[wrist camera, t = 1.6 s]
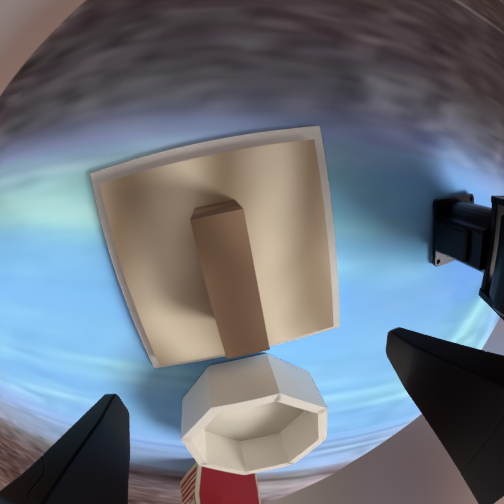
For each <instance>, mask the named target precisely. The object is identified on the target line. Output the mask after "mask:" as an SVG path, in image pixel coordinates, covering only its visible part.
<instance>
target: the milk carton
mask: <svg viewBox="0 0 504 504" xmlns="http://www.w3.org/2000/svg"><path fill="white" fill-rule="evenodd" d="M179 484H180V495H181V504H261V502H260V494H259V488H258V483H257V477H256V473H253V474H247V475H241V474H235V473H230V472H225V471H220V470H216V469H211V468H207V467H203V466H199V464H198V463H197V462H195V463H194V464H193V466H192V467H191V468H190V469H189V471H188V472H187V473H186V475H185V476H184V477H183V479H182V480H181V482H180V483H179Z"/></svg>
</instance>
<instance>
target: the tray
mask: <svg viewBox="0 0 504 504" xmlns="http://www.w3.org/2000/svg"><path fill="white" fill-rule="evenodd" d="M313 139H314V141H315V147H316V153H317V159H318V166H319V172H320V179H321V186H322V193H323V201H324V209H325V218H326V227H327V236H328V247H329V258H330V270H331V284H332V301H333V323H334V326H333V327H330V328H326V329H323V330H320V331H316V332H313V333H309V334H306V335H302V336H299V337H295V338H291V339H287V340H284V341H280V342H276V343H272V344H269V347H270V346H274V345H278V344H281V343H285V342H289V341H293V340H297V339H300V338H304V337H307V336H311V335H314V334H318V333H321V332H324V331H328V330H331V329H334V328H337V327H340V308H339V286H338V269H337V255H336V243H335V232H334V222H333V213H332V204H331V196H330V188H329V181H328V173H327V167H326V160H325V154H324V148H323V142H322V136H321V130H320V126H311V127H300V128H290V129H281V130H273V131H265V132H258V133H251V134H245V135H239V136H233V137H227V138H222V139H216V140H211V141H206V142H201V143H197V144H192V145H188V146H183V147H179V148H175V149H171V150H167V151H163V152H159V153H155V154H151V155H147V156H144V157H140V158H137V159H133V160H130V161H127V162H123V163H120V164H117V165H114V166H110V167H107V168H104V169H101V170H98V171H95V172H93V173H90V176H91V181H92V186H93V190H94V195H95V200H96V204H97V208H98V212H99V216H100V220H101V224H102V228H103V232H104V235H105V239H106V243H107V246H108V249H109V253H110V256H111V259H112V262H113V266H114V269H115V272H116V275H117V278H118V281H119V284H120V287H121V289H122V292H123V295H124V298H125V300H126V303H127V306H128V308H129V311H130V314H131V316H132V319H133V321H134V324H135V326H136V328H137V331H138V333H139V336H140V338H141V340H142V343H143V345H144V347H145V349H146V352H147V354H148V356H149V358H150V360H151V362H152V365H153V367H154V368H161V367H168V366H175V365H181V364H187V363H193V362H199V361H204V360H210V359H215V358H220V357H225V356H226V355H225V354H223V355H218V356H213V357H208V358H202V359H197V360H191V361H185V362H179V363H172V364H166V365H159V363H158V360H157V358H156V356H155V354H154V351H153V349H152V347H151V345H150V342H149V340H148V337H147V335H146V333H145V330H144V328H143V325H142V323H141V320H140V318H139V315H138V312H137V310H136V307H135V304H134V302H133V299H132V296H131V293H130V291H129V288H128V285H127V282H126V279H125V276H124V273H123V270H122V267H121V263H120V260H119V257H118V254H117V250H116V247H115V243H114V240H113V236H112V233H111V229H110V225H109V221H108V217H107V213H106V209H105V205H104V200H103V196H102V191H101V187H100V184H102V183H105V182H108V181H111V180H114V179H118V178H121V177H124V176H128V175H131V174H135V173H138V172H142V171H145V170H149V169H153V168H157V167H160V166H164V165H168V164H172V163H177V162H181V161H185V160H190V159H194V158H199V157H203V156H208V155H213V154H218V153H223V152H229V151H234V150H240V149H246V148H252V147H258V146H265V145H272V144H279V143H287V142H295V141H304V140H313Z"/></svg>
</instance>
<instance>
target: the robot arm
mask: <svg viewBox="0 0 504 504" xmlns="http://www.w3.org/2000/svg"><path fill="white" fill-rule="evenodd" d="M491 202H492V208H489V207H485V206H481V205H477V204H474V196H473V195H472V194H469V193H468V194H462V195H456V196H450V197H445V198H439V199H435V201H434V203H433V212H434V237H433V265H435V266H441V265H443V264H446V263H448V262H451V261H453V260H457V261H459V262H462V263H464V264H466V265H468V266H470V267H472V268H474V269H476V270H478V271H481V272H483V273H484V275H483V280H482V285H481V288H480V290H479V296H480V297H481V298H482V299H483V300H484V301H485V302H486V303H487V304H488V305H489V306H490V307H491V308H492V309H493V310H494V311H495V312H496V313H497V314H498V315H499V316H500V317H501V318H502V319H503V320H504V196H491ZM386 354H387V357H388V359H389V361H390V362H391V364H392V366H393V368H394V370H395V371H396V373H397V375H398V377H399V379H400V381H401V382H402V384H403V386H404V388H405V389H406V391H407V392H408V394H409V395H410V397H411V398H412V400H413V401H414V403H415V404H416V406H417V407H418V408H419V410H420V411H421V413H422V414H423V416H424V417H425V419H426V420H427V422H428V423H429V425H430V426H431V428H432V429H433V431H434V432H435V434H436V435H437V437H438V438H439V440H440V441H441V443H442V444H443V446H444V447H445V449H446V450H447V452H448V454H449V455H450V457H451V458H452V460H453V462H454V463H455V465H456V466H457V468H458V469H459V471H460V472H461V475H462V477H463V478H464V480H465V481H466V483H467V485H468V486H469V488H470V490H471V492H472V493H473V495H474V497H475V498H476V500H477V502H478V504H494V503H495V502H496V501H498V500H499V499H500V498H502V497H503V496H504V356H503V355H499V354H494V353H490V352H485V351H483V350H479V349H475V348H471V347H468V346H464V345H460V344H457V343H453V342H449V341H446V340H442V339H439V338H435V337H432V336H428V335H425V334H421V333H418V332H414V331H411V330H407V329H404V328H400V327H398V328H395V329H393V330H390V331H389V332H388V335H387V344H386ZM129 462H130V431H129V412H128V410H127V408H126V407H125V405H124V404H123V402H122V401H121V399H120V397H119V396H118V395H117V394H106V395H104V396H103V397H102V398H101V399H100V400H99V401H98V402H97V403H96V404H95V405H94V406H93V407H92V408H91V409H90V410H89V411H88V412H86V413H85V414H84V415H83V416H82V417H81V418H80V419H79V420H78V421H77V422H76V423H75V424H74V425H73V426H72V427H71V428H70V429H69V430H68V431H67V432H66V433H65V434H64V435H63V436H62V437H61V438H60V439H59V440H58V441H57V442H56V443H55V444H54V445H52V446H51V447H50V448H49V449H48V450H47V451H46V452H45V453H44V454H43V456H41V457H40V458H39V459H38V460H37V461H36V462H35V463H34V464H33V465H32V466H31V467H29V468H28V469H27V470H26V471H25V472H24V473H22V474H21V475H20V476H19V477H17V478H16V479H15V480H14V481H12V482H11V483H10V484H8V485H7V486H6V487H5V488H3V489H2V490H1V491H0V504H128V479H129Z"/></svg>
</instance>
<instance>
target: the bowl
mask: <svg viewBox="0 0 504 504" xmlns="http://www.w3.org/2000/svg"><path fill="white" fill-rule="evenodd" d="M326 438H327V406H326V404H325V403H324V401H323V399H322V397H321V395H320V393H319V391H318V389H317V387H316V385H315V383H314V381H313V379H312V377H311V375H310V373H309V371H307V370H304V369H302V368H299V367H297V366H295V365H292V364H290V363H288V362H285V361H283V360H281V359H278V358H276V357H274V356H272V355H269V354H267V353H265V354H261V355H256V356H252V357H248V358H243V359H238V360H234V361H229V362H224V363H219V364H214V365H209V366H208V367H207V368H206V370H205V371H204V372H203V373H202V375H201V376H200V377H199V378H198V380H197V381H196V382H195V383H194V385H193V386H192V387H191V388H190V390H189V391H188V392H187V393H186V395H185V396H184V397H183V398H182V418H181V440H182V442H183V443H184V445H185V446H186V447H187V449H188V450H189V452H190V453H191V455H192V456H193V457H194V459H195V460H196V462H197V463H198V464H199V466H203V467H207V468H211V469H216V470H220V471H225V472H230V473H235V474H241V475H247V474H253V473H258V472H263V471H268V470H272V469H276V468H281V467H285V466H289V465H292V464H294V463H295V462H297V461H298V460H300V459H301V458H302V457H304V456H305V455H306V454H308V453H309V452H310V451H311V450H313V449H314V448H315V447H317V446H318V445H319V444H320V443H322V442H323V441H324V440H325V439H326Z"/></svg>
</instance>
